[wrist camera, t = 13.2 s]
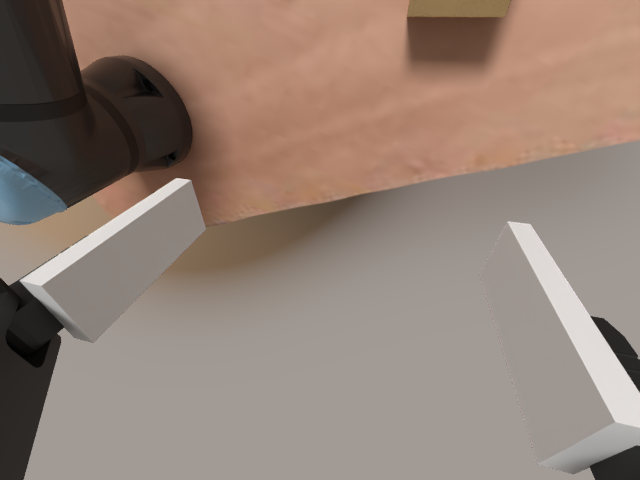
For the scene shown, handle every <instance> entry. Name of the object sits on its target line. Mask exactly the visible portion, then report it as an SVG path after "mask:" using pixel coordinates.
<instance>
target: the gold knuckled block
mask: <svg viewBox="0 0 640 480" xmlns="http://www.w3.org/2000/svg"><path fill="white" fill-rule="evenodd" d="M510 1H511V0H410V1H409V7H408V13H407V17H424V18H499V17H505V15H506V12H507V10H508V7H509V4H510Z"/></svg>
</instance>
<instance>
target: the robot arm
mask: <svg viewBox="0 0 640 480" xmlns="http://www.w3.org/2000/svg"><path fill="white" fill-rule="evenodd" d="M191 142H192V130H191V124H190V120H189V116H188V114H187V111H186V108H185V106H184V104H183V102H182V100H181V99H180V97H179V95H178V94H177V92H176V91H175V89H174V88H173V87H172V85H171V84H170V83H169V82H168V81H167V80H166V79H165V78H164V77H163V76H162V75H161V74H160V73H159V72H158V71H157V70H155V69H154V68H153V67H151V66H150V65H148V64H147V63H145V62H143V61H141V60H139V59H136V58H133V57H129V56H113V57H105V58H101V59H99V60H96V61H95V62H93V63H92V64H90V65H89V66H87V67H86V68H85V69H83V70H82V71H80V68H79V64H78V60H77V57H76V53H75V49H74V45H73V41H72V37H71V33H70V29H69V25H68V21H67V18H66V14H65V10H64V6H63V2H62V0H0V222H2V223H8V224H13V225H26V224H31V223H35V222H37V221H40V220H42V219H44V218H46V217H48V216H51V215H53V214H55V213H57V212H63V211H64V210H67V208H69V207H71V206H73V205H75V204H76V203H78V202H80V201H82V200H83V199H85V198H87V197H89V196H91V195H93V194H94V193H96V192H98V191H100V190H102V189H103V188H105V187H107V186H109V185H111V184H113V183H114V182H116V181H118V180H120V179H122V178H123V177H125V176H127V175H129V174H131V173H134V172H143V171H152V170H161V169H166V168H169V167H171V166H173V165H175V164H176V163H178V162H180V161H181V160H183V159H184V158H185V157H186V155H187V154H188V152H189V150H190V147H191ZM205 230H206V227H205V224H204V221H203V217H202V214H201V211H200V208H199V204H198V201H197V198H196V194H195V191H194V188H193V185H192V181H191V180H188V179H180V178H176V179H174V180H173V181H171V182H170V183H168V184H166V185H165V186H163V187H162V188H160V189H159V190H157V191H156V192H154V193H153V194H151V195H150V196H148V197H147V198H145V199H143V200H142V201H140V202H139V203H137V204H136V205H134V206H133V207H131V208H130V209H128V210H127V211H125V212H124V213H122V214H120V215H119V216H117V217H116V218H114V219H113V220H111V221H110V222H108V223H107V224H105V225H104V226H102V227H101V228H99V229H98V230H96V231H95V232H93V233H92V234H90V235H87V236H85V237H84V238H82V239H81V240H79V241H78V242H76V243H75V244H73V245H72V246H71V247H68V248H67V249H65V250H64V251H62V252H61V254H59V255H56V256H54V257H53V258H51V259H50V260H48V261H47V262H45V263H44V264H42V265H41V266H39V267H38V268H36V269H35V270H33V271H31V272H30V273H28V274H27V275H25V276H24V277H22V278H21V279H19V280H18V281H16V282H14V283H13V284H11V285H9V286H8V285H7V284H6V283H5V282H4V281H3V280H2V279H1V278H0V480H23V479H24V476H25V472H26V468H27V465H28V461H29V457H30V454H31V450H32V447H33V443H34V439H35V436H36V432H37V428H38V425H39V421H40V417H41V414H42V410H43V406H44V403H45V399H46V395H47V392H48V388H49V385H50V381H51V377H52V374H53V370H54V366H55V363H56V359H57V355H58V352H59V348H60V344H61V337H60V336H59V335H58V334H57V333H58V332H59V331H60V330H61V329H63V328H65V329H66V330H67V331H68V332H69V333H70V334H71V335H72V336H73V337H74V338H77V339H80V340H84V341H88V342H92V343H94V342H95V341H96V340H97V339H98V338H99V337H100V336H101V335H102V334H103V333H104V332H105V331H106V330H107V329H108V328H109V327H110V326H111V325H112V323H114V322H115V321H116V320H117V319H118V317H120V315H121V314H122V313H123V312H124V311H125V310H126V309H127V308H128V307H129V306H130V305H131V304H132V303H133V302H134V301H135V300H136V299H137V298H138V297H139V296H140V295H141V294H142V293H143V292H144V291H145V290H146V289H147V288H148V287H149V286H150V285H151V284H152V283H153V282H154V281H155V280H156V279H157V278H158V277H159V276H160V275H161V274H162V273H163V272H164V271H165V270H166V269H167V268H168V267H169V266H170V265H171V264H172V263H173V262H174V261H175V260H176V259H177V258H178V257H179V256H180V255H181V254H182V253H183V252H184V251H185V250H186V249H187V248H188V247H189V246H190V245H191V244H192V243H193V242H194V241H195V240H196V239H197V238H198V237H199V236H200V235H201V234H202V233H203V232H204V231H205ZM479 275H480V279H481V282H482V286H483V289H484V292H485V295H486V299H487V302H488V305H489V308H490V312H491V315H492V318H493V321H494V324H495V328H496V331H497V334H498V338H499V341H500V344H501V347H502V351H503V354H504V357H505V360H506V364H507V367H508V370H509V373H510V377H511V380H512V383H513V386H514V390H515V393H516V396H517V399H518V402H519V406H520V409H521V412H522V416H523V419H524V422H525V425H526V429H527V432H528V435H529V439H530V442H531V445H532V448H533V452H534V454H535V458H536V461H537V464H538V465H541V466H545V467H549V468H552V469H556V470H560V471H563V472H567V473H571V474H575V473H578V472H580V471H582V470H585V469H587V468H589V467H590V468H591V471H592V473H593V475H594V478H595V480H640V360H639V359H638V358H637V357H638V355H637V354H636V352H635V351H634V349H633V348H632V347H631V345H630V344H629V343H628V341H627V340H626V338H625V337H624V336H623V335H622V334H621V333H620V332H619V331H617V330H616V329H615V328H614V327H613V326H612V325H610V324H609V323H608V322H607V321H606V320H605V319H603V318H598V317H592V316H590V315H589V314H588V312H587V311H586V309H585V308H584V306H583V305H582V303H581V302H580V300H579V299H578V297H577V295H576V294H575V292H574V291H573V289H572V288H571V286H570V285H569V283H568V282H567V280H566V279H565V277H564V276H563V274H562V273H561V271H560V269H559V268H558V266H557V265H556V263H555V262H554V260H553V259H552V257H551V255H550V254H549V252H548V251H547V249H546V248H545V246H544V245H543V243H542V242H541V240H540V239H539V237H538V235H537V234H536V232H535V231H534V229H533V228H532V226H531V225H530V224H524V223H516V222H509V221H507V223H506V224H505V227H504V228H503V230H502V232H501V234H500V236H499V238H498V240H497V241H496V243H495V245H494V247H493V249H492V251H491V253H490V255H489V257H488V259H487V260H486V262H485V264H484V266H483V268H482V270H481V272H480V274H479Z"/></svg>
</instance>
